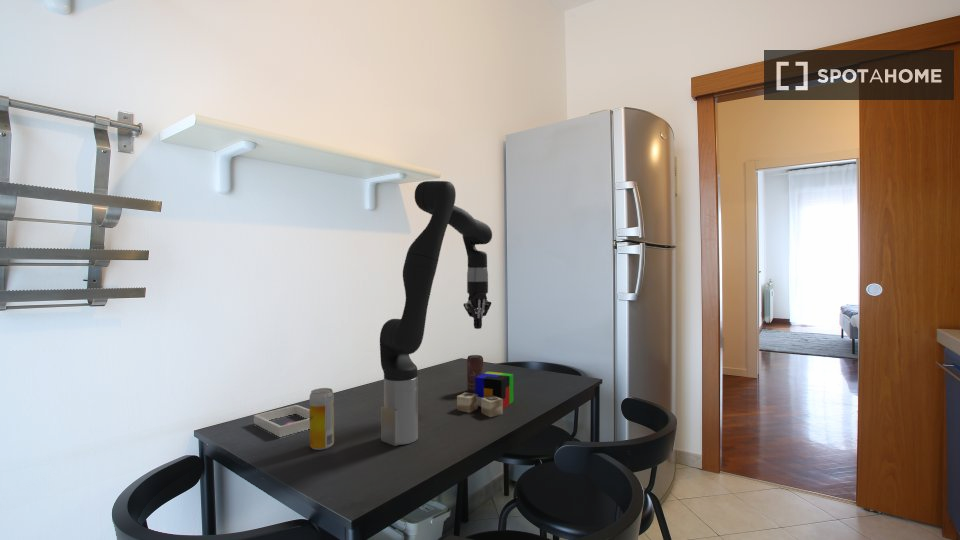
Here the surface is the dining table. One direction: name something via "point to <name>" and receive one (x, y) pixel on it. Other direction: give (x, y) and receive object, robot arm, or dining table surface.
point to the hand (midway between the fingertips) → (477, 328)
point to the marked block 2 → (492, 406)
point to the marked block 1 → (467, 402)
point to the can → (473, 371)
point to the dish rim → (285, 429)
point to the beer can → (321, 418)
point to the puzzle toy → (495, 386)
